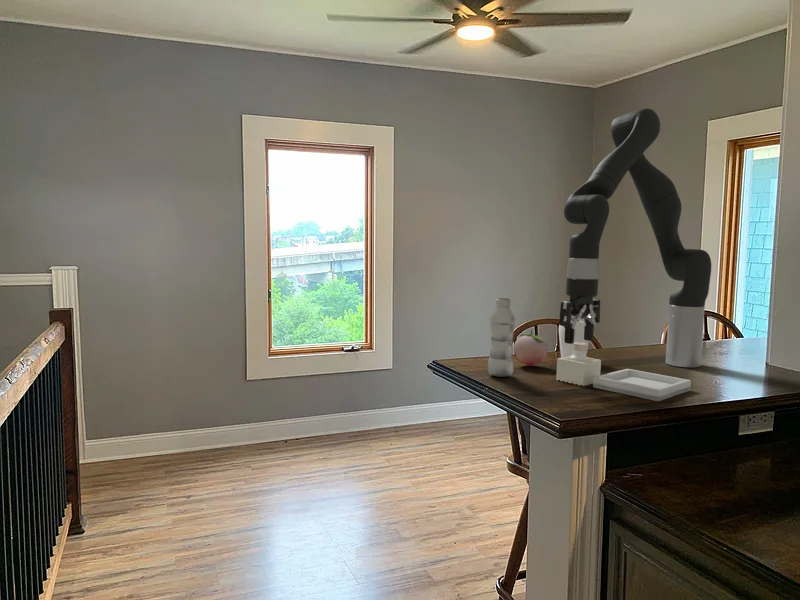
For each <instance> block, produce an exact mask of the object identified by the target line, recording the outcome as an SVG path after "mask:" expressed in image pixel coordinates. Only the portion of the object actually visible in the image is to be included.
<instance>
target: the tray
mask: <svg viewBox="0 0 800 600" xmlns="http://www.w3.org/2000/svg"><path fill="white" fill-rule="evenodd" d="M691 382H692V380H691V379H686V378H680V377H675V376H670V375H666V374H665V375H664V374H659V373H653V372H650V371H649V372H648V371H643V370H636V369H632V368H625V369H621V370H615V371H612V372H608V373H605V374H600V376H595V377H594V378H593V383H592V387H593V388H596V389H599V390H604V391H609V392H614V393H618V394H622V395H627V396H632V397H637V398H641V399H646V400H651V401H655V402H660V401H663V400H666V399H670V398H673V397H674V396H676V397H677V396H679V395H682V394H684V393H686V392H690V391H691V387H692V385H691Z"/></svg>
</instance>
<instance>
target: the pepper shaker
mask: <svg viewBox="0 0 800 600" xmlns="http://www.w3.org/2000/svg"><path fill="white" fill-rule="evenodd" d="M586 345H587V344H586V343H579V342H576V343H573V355H571V357H570V360H572V361H577V362H588V358H589V357H588V356H587V355H586Z"/></svg>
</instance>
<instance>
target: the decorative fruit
mask: <svg viewBox="0 0 800 600" xmlns="http://www.w3.org/2000/svg"><path fill="white" fill-rule="evenodd" d="M513 344H514V345H513V351H514V354H515V356H516V358H517V359H518V360H519V361H520V362H522V363H523V364H525V365H526V366H528V367H529V366H531V367H533V366H535V365H537V364H540V363H541V362H542V361H543V360H544V359H545V358H546V356H547V355H548V351H549V348H548V344H547V342H546V341H545V340H544V339H543V338H542V337H541V336H540V335H537V334H536V335H533V331H532V330H531V331H530V333H525V332H522V333H521V334H520V336H519V337H518V338H517V339H516V340H515V342H514V343H513Z"/></svg>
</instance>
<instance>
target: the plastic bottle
mask: <svg viewBox="0 0 800 600" xmlns="http://www.w3.org/2000/svg"><path fill="white" fill-rule="evenodd" d="M494 306H495V309H494V310H493V312H492V313H491V314H490V317H489V328H490V340H491V341H490V351H489V357H488V362H487V372H488V373H489V375H490V376H494V377H498V378H505V377H510V376H512V374H513V373H514V369H515V365H514V364H515V363H514V359H513V356H514V355H513V344H514V343H513V341H514V334H515V333H514V332H515V327H516V322H517V319H516V316H515V314H514V312H513V310H511V307H512V303H511V298H506V297H505V298H504V297H497V298H495V304H494Z"/></svg>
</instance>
